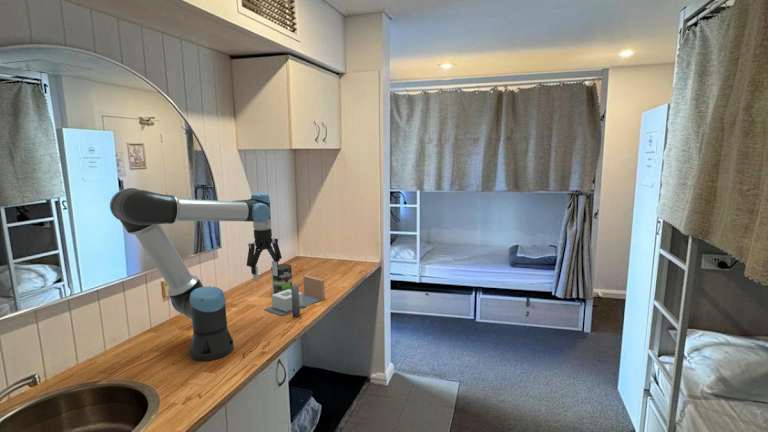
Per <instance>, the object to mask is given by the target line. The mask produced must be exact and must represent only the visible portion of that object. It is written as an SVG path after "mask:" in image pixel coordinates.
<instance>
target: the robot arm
mask: <svg viewBox="0 0 768 432" xmlns="http://www.w3.org/2000/svg"><path fill="white" fill-rule="evenodd" d="M109 209H110V212H111V213H112V216H113V217H114V218H116V219H117V220H119V221H120V223H121V225H122V226H123V227H124V229H125V230H126V232H127V233H128V234H131V235H134V236H135V237H136V238H137V240H138V242H139V243H140V244H141V246H142V248H143V249H144V251H145V252H146V253H147V255H148V256H149V259H150V260H151V261H152V263H153V265H154V266H155V268H156V270H158V272H159V274H160V275H161V277H162V278H163V280H164V282H165V283H166V285H167V286H168V290H167V294H168V296H169V298H170V302H171V305H172V307H173V308H174V310H175V311H177V312H178V313H180V314H181V315H182V314H183V315H184V316H186V317H187V318H188V319H190V320H191V323H192V333H193V334H192V338H191V342H190V346H189V356H190V358H191V359H192V360H195V361H199V362H206V361H207V362H208V361H214V360H217V359H221V358H224V357H226V356H228V355H229V354H230V353H232V352H233V350H234V349H235V346H234V344H235V343H234V339H233V338H232V335H231V333H230V331H229V329H228V321H227V320H228V319H227V307H226V295H225V292H224V290H222V289H221V288H219V287H218V286H210V285H209V286H204V285H203V283H202V282H201V280H200V279H199V277H198V276H197V275H192V273H191V272H190V271H189V268H188V267H187V266H186V264H185V262H184V261H183V258H182V257H181V255H180V254H179V252H178V251H177V249H176V247H175V246H174V244H173V242H172V241H171V239H170V237H169V236H168V234H167V233H166V231H165V229H164V227H163V226H162V225H167V224H168V225H172V224H175V223H176V222H179V221H180V222H252V227H253V229H254V230H253V238H254V242H251V243H250V242H249V243H248V244H247V245H248V254H247V259H246V266H247V267H250V270H251V275H252V278H253V281H254V282H257V283H258V282H260V280H259V267H258V266H257V264H258V261H259V260H260V259H259V258H260V256H261V254H262V253H263V251H265V250H267V252H268V253H269V255H270V256H271V259H272V260H271V267H272V270H271V274H272V273H273V275H275V276H278V272H277V268H278V265H279V262H280V260H282V253H281V250H280V247H279V246H280V245H279V239H278V238H276V237H273V238H272V236H273V232H272V231H273V230H272V218H271V216H272V215H271V200H270V195H269V193H265V192H257V193H251V196H250V198H249V199H242V200H241V199H240V200H239V199H238V200H231V201H230V200H215V199H212V200H210V199H194V198H192V199H190V198H178V197H176V196H175V195H172V194H171V195H170V194H169V195H168V194H163V193H162V194H161V193H157V192H153V191H149V190H144V189H139V188H134V187H129V188H128V187H127V188H124V189H121V190H118V191H117V192H116V193H115V194H114V195H113V196H112V197H111V199H110V202H109Z"/></svg>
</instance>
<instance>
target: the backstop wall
mask: <svg viewBox="0 0 768 432" xmlns="http://www.w3.org/2000/svg"><path fill="white" fill-rule="evenodd" d="M325 292H326V291H325V279H321V278H318V277H314V276H311V275H307V274H305V275H303V295H304V294H305V295H308V296H312V297H315V298H318V299H322V300H321V301H324V300H325V298H326V296H325V295H326V293H325ZM323 299H324V300H323Z"/></svg>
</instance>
